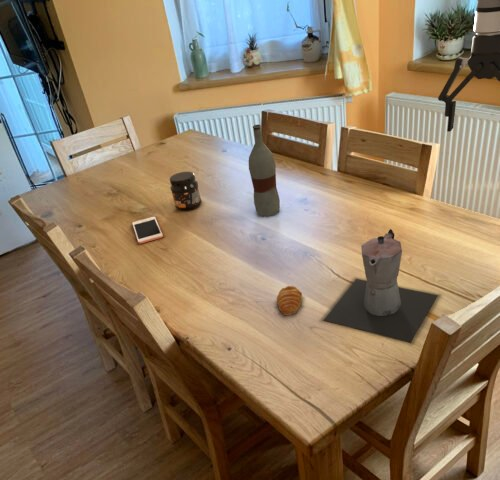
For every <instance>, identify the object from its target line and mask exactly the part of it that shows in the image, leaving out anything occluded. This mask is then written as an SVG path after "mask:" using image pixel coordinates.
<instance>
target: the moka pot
mask: <svg viewBox="0 0 500 480" xmlns="http://www.w3.org/2000/svg"><path fill="white" fill-rule="evenodd" d="M360 247H361V248H360V249H361V258H362V263H363V269H364V274H365V279H366V281H367V283H366V291H365V300H364V307H365V309H366V311H367V312H369V313H370V314H373V315H376V316H387V315H391V314H393V313H395V312H397V311H398V310H399V308H400V305H401V300H400V295H399V289H398V287H399V284H398V277H399V273H400V268H401V261H402V254H403V248H402V243H401V241H399V240H397V239H395V232H394V231H393V229H391V228H390V229H389V230H388V232H387V233H384V235H379V236H377V237H374V238H371V239H369V240H367V241H366V242H364V243H362V245H361V246H360Z"/></svg>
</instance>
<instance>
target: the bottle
mask: <svg viewBox="0 0 500 480" xmlns="http://www.w3.org/2000/svg"><path fill="white" fill-rule="evenodd" d="M261 127H262V125H261V124H254V125H253V126H252V129H253V138H254V145H253V147H252V149H251V151H250V154H249V156H248V171H249V174H250V179H251V183H252V188H253V205H254V208H255V212H256V214H257V215H258V216H259V217H262V218H268V217H269V218H270V217H273V216H276V215H278V214H279V212H280V208H281V206H280V205H281V201H280V196H279V192H278V188H277V170H276V168H277V166H276V161H275V157H274V155H273V152H272V151H271V150H270V149H269V148H268V146H267V145H266V144H265V142H264V141H263V134H262V128H261Z"/></svg>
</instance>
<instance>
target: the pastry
mask: <svg viewBox="0 0 500 480" xmlns="http://www.w3.org/2000/svg"><path fill="white" fill-rule="evenodd" d="M302 299H303V293H302V291H301V290H300V289H298V288H297V286H294V285H287V286H285V287H282V288H281V289H280V290H279V292H278V294H277V296H276V304H277V306H278V309H279V311H280V313H281V314H282V315H284V316H290V315H291V316H292V315H294V314H296V313H297V312H298V310H299V309H300V307H301V306H302V304H303V303H302V302H303V300H302Z"/></svg>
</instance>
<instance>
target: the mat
mask: <svg viewBox="0 0 500 480" xmlns="http://www.w3.org/2000/svg"><path fill="white" fill-rule="evenodd" d="M366 283H367V280H363V279H360V278H359V279H358V278H355V280H354V281H353V282H352V284H351V285H350V286H349V287H348V289H347V290H346V291H345V292H344V293H343V294H342V296H341V297H340V299H339V300H338V301H337V302H336V304H335V305H334V306H333V307H332V308H331V310H329V312H328V313H327V314H326V316H325V317H324V318H323V321H324V322H328V323H331V324H335V325H339V326H343V327H347V328H351V329H355V330H358V331H359V330H360V331H363V332H366V333H371V334H374V335H379V336H383V337H386V338H391V339H394V340H399V341H402V342H406V343H410V344H411V343H412V342H413V339H414V338H415V336H416V334H417V332H418V331H419V329H420V327H421V326H422V324H423V322H424V320H425V319H426V317H427V316H428V314H429V312H430V310H431V308H432V306H433V304H434V303H435V302H436V300H437V298H438V297H439V295H438V294H434V293H430V292H424V291H419V290H414V289H409V288H404V287H399V286H398V289H399V295H400V300H401V305H400V308H399V310H398V311H397V312H395V313H393V314H391V315H387V316H376V315H373V314H370V313H369V312H367V311H366V309H365V307H364V300H365V291H366Z"/></svg>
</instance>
